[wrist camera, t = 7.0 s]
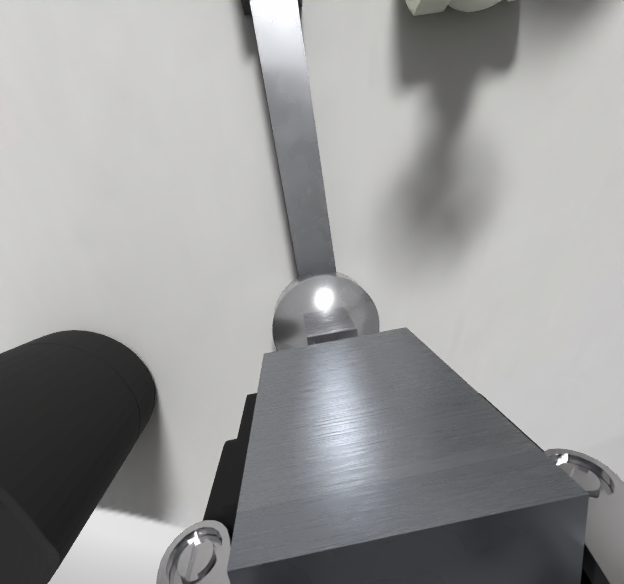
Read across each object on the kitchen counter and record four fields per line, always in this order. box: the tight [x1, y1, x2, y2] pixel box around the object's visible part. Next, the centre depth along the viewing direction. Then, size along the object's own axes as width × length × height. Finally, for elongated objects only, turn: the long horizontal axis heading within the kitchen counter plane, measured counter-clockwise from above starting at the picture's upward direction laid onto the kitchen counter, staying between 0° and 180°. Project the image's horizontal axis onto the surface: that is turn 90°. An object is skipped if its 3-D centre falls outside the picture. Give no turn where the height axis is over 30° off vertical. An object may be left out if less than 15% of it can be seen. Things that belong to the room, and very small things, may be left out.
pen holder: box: [0, 330, 155, 584], centre depth 15 cm, size 9×9×10 cm
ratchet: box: [241, 0, 379, 351], centre depth 14 cm, size 6×28×6 cm, turn 9°
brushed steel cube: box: [227, 328, 589, 584], centre depth 8 cm, size 5×5×6 cm
